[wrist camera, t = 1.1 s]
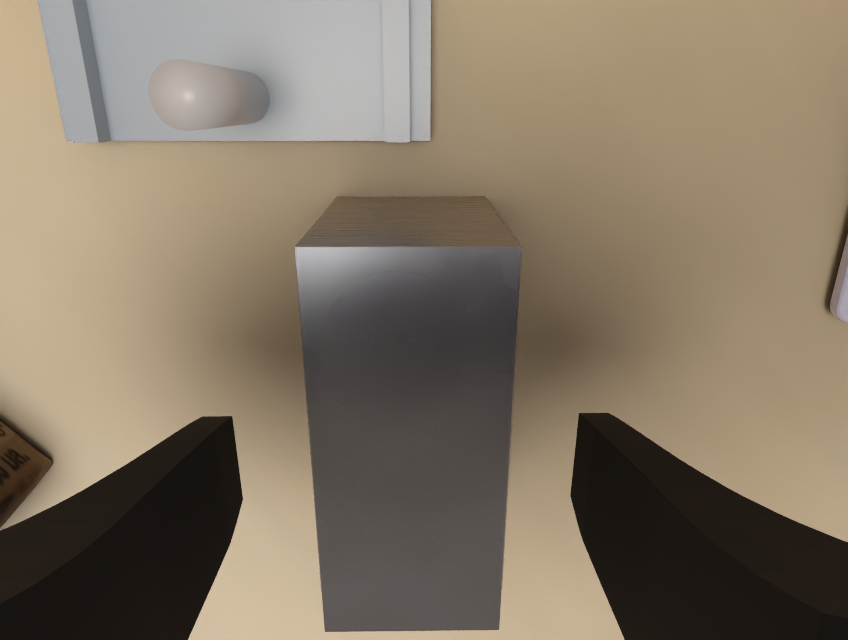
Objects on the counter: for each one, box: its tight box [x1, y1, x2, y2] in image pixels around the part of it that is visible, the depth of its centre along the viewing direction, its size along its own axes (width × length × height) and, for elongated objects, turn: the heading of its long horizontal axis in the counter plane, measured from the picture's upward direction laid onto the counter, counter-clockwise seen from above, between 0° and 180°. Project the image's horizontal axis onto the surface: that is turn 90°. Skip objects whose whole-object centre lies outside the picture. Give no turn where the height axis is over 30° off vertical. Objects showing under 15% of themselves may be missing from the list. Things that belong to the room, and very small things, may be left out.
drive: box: [295, 197, 522, 632], centre depth 15 cm, size 4×9×6 cm, turn 0°
